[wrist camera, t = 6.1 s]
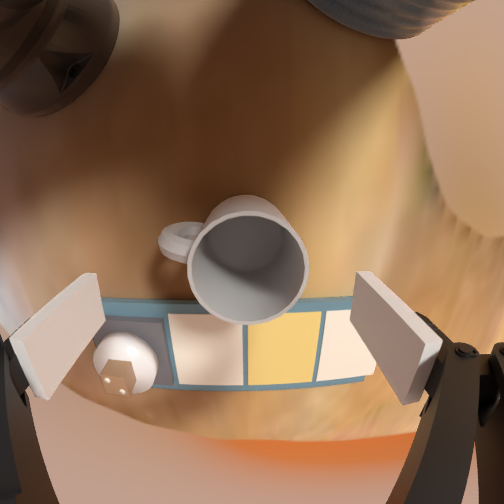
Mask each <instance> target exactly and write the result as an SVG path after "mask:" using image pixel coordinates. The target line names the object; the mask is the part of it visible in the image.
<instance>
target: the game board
mask: <svg viewBox="0 0 504 504" xmlns="http://www.w3.org/2000/svg"><path fill="white" fill-rule="evenodd" d="M352 300H353V296H348V297H328V298H304V299H298V301H297V302H296V303H295V304H294V306H293V307H292V308H291V309H289V310H288V311H287V312H285V313H284V314H283V315H282V316H280V317H278V318H275V319H273V320H271V321H269V322H266V323H261V324H255V325H238V324H234V323H230V322H227V321H223V320H221V319H220V318H218V317H216V316H214V315H212V314H211V313H209V312H208V311H207V310H206V309H205V308H204V307H203V306H202V305H201V304H200V303H199V302H198V300H157V299H124V298H101V301H102V306H103V311H104V315H105V320H106V321H105V322H104V323H103V325H102V326H101V327H100V329H99V330H98V331H97V333H96V334H95V335H94V337H93V340H94V343H95V347H96V349H97V347H98V346H99V344H100V343H101V341H102V340H103V338H104V337H105V336H106V335H108V334H110V333H112V332H117V331H122V332H128V333H131V334H134V335H136V336H138V337H140V338H142V339H143V340H144V341H146V342H147V343H148V344H149V345H150V346H151V347H152V349H153V350H154V351H155V353H156V355H157V358H158V363H159V367H158V371H157V374H156V377H155V380H154V382H153V385H152V386H151V388H163V389H177V390H198V391H262V390H283V389H298V388H310V387H320V386H329V385H338V384H346V383H353V382H360V381H364V377H365V375H371V374H373V373H374V369H375V366H376V361H375V359H374V358H373V356H372V355H371V353H370V351H369V350H368V348H367V347H366V345H365V343H364V342H363V340H362V339H361V337H360V336H359V334H358V333H357V331H356V329H355V328H354V326H353V325H352V323H351V322H350V314H351V307H352Z"/></svg>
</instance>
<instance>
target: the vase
mask: <svg viewBox="0 0 504 504" xmlns="http://www.w3.org/2000/svg"><path fill="white" fill-rule="evenodd" d="M307 1H309V2H310V3H311V4H312V5H313V6H314V7H316V8H317V9H318V10H320V11H321V12H322V13H324V14H325V15H327V16H328V17H330V18H332V19H333V20H335V21H337V22H339V23H340V24H342V25H344V26H346V27H349V28H351V29H353V30H356V31H358V32H361V33H364V34H367V35H370V36H374V37H379V38H385V39H406V38H411V37H414V36H416V35H419V34H421V33H422V32H424V31H425V30H427V29H428V28H430V27H431V26H433V25H435V24H436V23H438V22H439V21H441V20H443V19H444V18H446V17H447V16H449V15H451V14H452V13H454V12H456V11H457V10H459V9H461V8H462V7H464V6H466V5H467V4H468V3H471V2H473V1H475V0H307Z"/></svg>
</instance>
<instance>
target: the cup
mask: <svg viewBox="0 0 504 504" xmlns="http://www.w3.org/2000/svg"><path fill="white" fill-rule="evenodd" d="M158 245H159V248H160V250H161V252H162V254H163V255H164V256H166V257H168V258H169V259H171V260H174V261H178V262H181V263H185V264H187V275H188V280H189V283H190V287H191V290H192V292H193V294H194V295H195V297H196V298H197V300H198V302H199V303H200V304H201V305H202V306H203V307H204V308H205V309H206V310H207V311H208V312H209V313H211V314H212V315H214V316H216V317H218V318H220V319H221V320H223V321H227V322H230V323H234V324H238V325H255V324H261V323H266V322H269V321H271V320H273V319H275V318H278V317H280V316H282V315H283V314H284V313H285V312H287V311H288V310H289V309H291V308H292V307H293V306H294V304H295V303H296V302H297V301H298V299H299V298H300V297H301V295H302V293H303V291H304V289H305V286H306V284H307V281H308V273H309V261H308V254H307V251H306V249H305V246H304V244H303V242H302V240H301V238H300V237H299V235H298V234H297V233H296V231H295V230H294V229H293V227H292V226H291V225H290V224H289V222H288V221H287V220H286V218H285V217H284V216H283V215H282V213H281V212H280V211H279V210H278V209H277V208H276V206H275V205H273V204H272V203H270V202H269V201H267V200H266V199H264V198H261V197H258V196H255V195H238V196H233V197H230V198H228V199H226V200H224V201H222V202H221V203H220V204H219V205H218V206H216V207H215V208H214V209H213V210H212V211H211V213H210V215H209V216H208V218H207V220H206V221H205V223H199V222H180V223H175V224H171V225H169V226H166V227H165V228H164V229H163V230H162V232H161V234H160V235H159V237H158Z"/></svg>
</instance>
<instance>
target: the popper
mask: <svg viewBox="0 0 504 504" xmlns="http://www.w3.org/2000/svg"><path fill="white" fill-rule="evenodd" d="M93 364H94V367H95V369H96V371H97V373H98V374H99V376H100V377H101V379H102V382H103V384H104V387H105V390H106V392H107V394H113V395H120V396H127V397H130V396H131V394H138V393H143V392H145V391H147V390H148V389H150V388H151V386H152V385H153V382H154V380H155V377H156V374H157V371H158V367H159V363H158V358H157V355H156V353H155V351H154V350H153V349H152V347H151V346H150V345H149V344H148V343H147V342H146V341H144V340H143V339H142V338H140V337H138V336H136V335H134V334H131V333H128V332H122V331H117V332H112V333H110V334H108V335H106V336H105V337H104V338H103V340H102V341H101V343H100V344H99V346H98V347H97V349H96V350H95V352H94V355H93Z"/></svg>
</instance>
